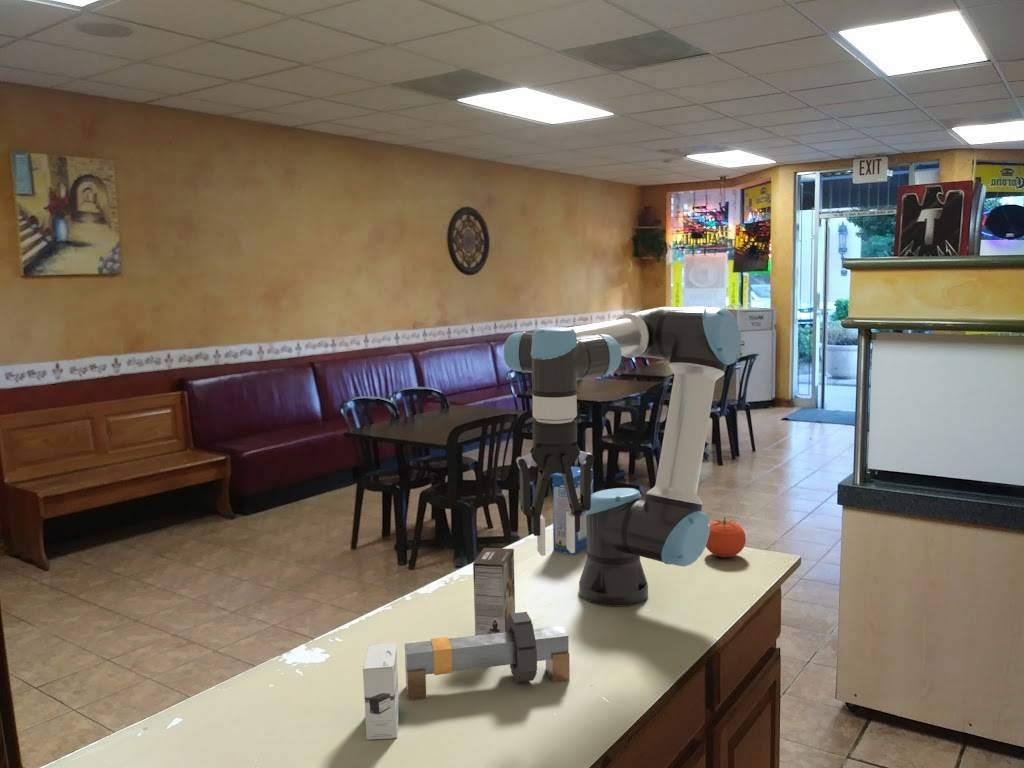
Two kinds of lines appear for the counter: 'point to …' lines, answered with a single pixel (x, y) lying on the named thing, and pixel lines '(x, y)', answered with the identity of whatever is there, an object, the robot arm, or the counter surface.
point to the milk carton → (560, 513)
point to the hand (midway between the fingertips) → (556, 551)
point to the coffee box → (493, 590)
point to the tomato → (725, 538)
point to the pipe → (481, 656)
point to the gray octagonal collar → (523, 646)
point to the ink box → (381, 691)
